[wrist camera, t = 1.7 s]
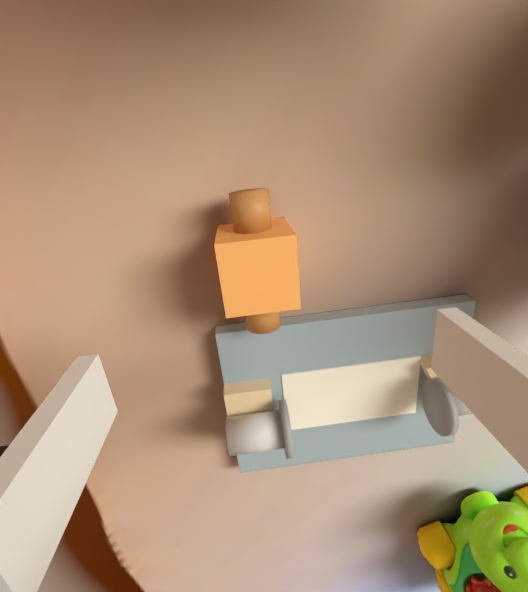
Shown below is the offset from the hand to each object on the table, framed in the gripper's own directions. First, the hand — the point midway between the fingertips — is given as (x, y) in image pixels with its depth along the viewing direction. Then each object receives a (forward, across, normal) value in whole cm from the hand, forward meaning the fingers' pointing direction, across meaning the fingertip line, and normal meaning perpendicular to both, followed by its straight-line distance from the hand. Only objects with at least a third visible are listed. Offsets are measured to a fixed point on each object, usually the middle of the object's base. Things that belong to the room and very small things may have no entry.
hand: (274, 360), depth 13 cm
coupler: (+15, 0, 0) cm, 15 cm away
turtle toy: (+15, +24, -37) cm, 47 cm away
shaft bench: (+15, +7, -14) cm, 21 cm away
